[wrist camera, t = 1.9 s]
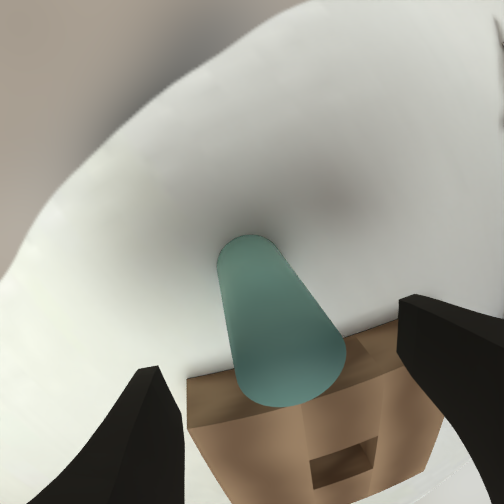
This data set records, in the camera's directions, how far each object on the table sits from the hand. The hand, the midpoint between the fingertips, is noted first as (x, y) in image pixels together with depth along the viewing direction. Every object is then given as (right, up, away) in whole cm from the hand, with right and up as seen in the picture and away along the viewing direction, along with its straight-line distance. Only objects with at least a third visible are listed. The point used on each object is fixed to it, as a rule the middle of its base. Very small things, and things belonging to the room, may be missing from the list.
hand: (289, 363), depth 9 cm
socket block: (+4, -10, +12) cm, 16 cm away
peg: (-1, +2, +7) cm, 8 cm away
